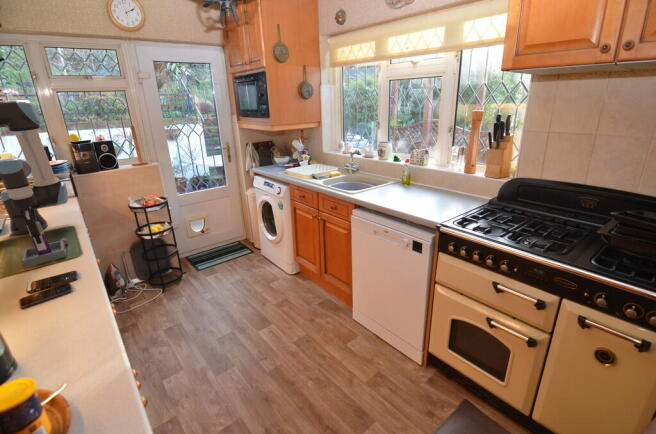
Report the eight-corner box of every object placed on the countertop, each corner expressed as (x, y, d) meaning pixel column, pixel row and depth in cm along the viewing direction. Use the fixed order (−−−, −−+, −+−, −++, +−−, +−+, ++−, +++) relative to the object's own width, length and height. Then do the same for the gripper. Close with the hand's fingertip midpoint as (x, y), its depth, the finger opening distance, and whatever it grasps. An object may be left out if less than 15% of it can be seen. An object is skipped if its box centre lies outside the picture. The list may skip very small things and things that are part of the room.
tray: (26, 255, 148) (23, 249, 147) (65, 246, 156) (62, 240, 154) (24, 267, 137) (21, 261, 136) (66, 256, 145) (63, 250, 144)
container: (44, 257, 144) (31, 226, 138) (36, 257, 145) (22, 225, 139) (55, 252, 148) (42, 221, 142) (46, 252, 149) (34, 221, 143)
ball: (60, 244, 157) (58, 238, 156) (69, 242, 159) (66, 236, 158) (60, 246, 155) (58, 240, 154) (69, 244, 157) (67, 238, 156)
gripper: (11, 194, 141) (32, 243, 150) (7, 204, 127) (30, 257, 136) (34, 190, 145) (53, 238, 154) (33, 199, 132) (53, 251, 140)
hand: (42, 247), depth 145 cm, fingers open, 5 cm apart
